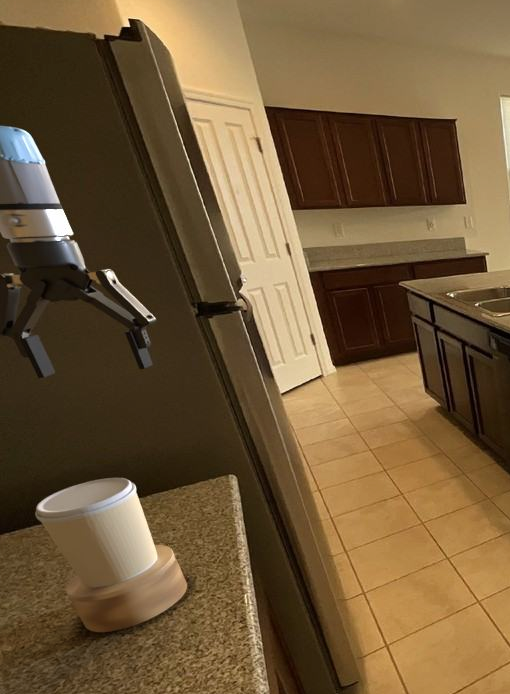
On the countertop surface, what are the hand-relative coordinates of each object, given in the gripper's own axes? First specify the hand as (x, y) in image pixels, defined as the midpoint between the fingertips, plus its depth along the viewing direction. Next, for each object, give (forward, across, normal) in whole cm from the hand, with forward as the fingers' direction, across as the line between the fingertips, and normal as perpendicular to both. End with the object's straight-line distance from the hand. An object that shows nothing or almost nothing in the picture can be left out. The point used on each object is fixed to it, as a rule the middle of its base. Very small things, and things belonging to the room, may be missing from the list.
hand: (98, 371), depth 88 cm
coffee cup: (+21, +11, -31) cm, 39 cm away
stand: (+27, +11, -31) cm, 42 cm away
